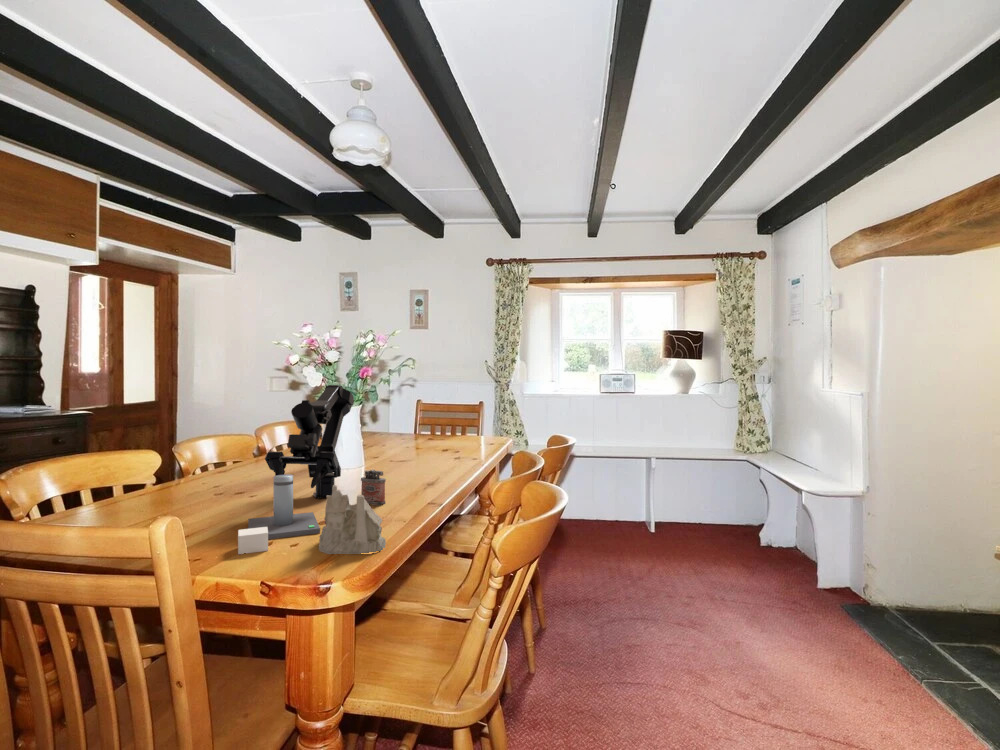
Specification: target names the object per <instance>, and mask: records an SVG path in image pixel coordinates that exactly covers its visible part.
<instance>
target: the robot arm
mask: <svg viewBox="0 0 1000 750" xmlns="http://www.w3.org/2000/svg"><path fill="white" fill-rule="evenodd" d="M354 397H355V396H354V395H353V393H352V392H351V391H350V390H349V389H348V390H347V389H346V388H344V386H343V385H340V384H329V385H325V388H324V390H323V392H322V394H320V395H319V397H318V398H317V399H316V400H315V401H312V402H311V401H310V400H308V399H307V400H306V399H302V400H301V402H300V403H297V404H296V405H294V406H293V407H292V409H291V411H290V412H291V415H292V419H293V420H294V422H295V425H296V427H297V429H298V430H300V431H299V434H294V433H293V434H289V435H288V440H287V445H286V446H287V448H290V450H289V453H290V454H291V456H289V455H288V456H287V455H284V452H283V451H268V452H267V453H265V454H266V455H265V457H264V460H265V462H266V464H267V467H268V468H269V470H271V471H273V473H274V476H276V475H283V474H286V470H285V469H286V467H287V465H307V469H308V477H309V478H312V479H311V483H310V488H311V489H314V488H315V492H313V494H312V495H313V496H314V499H324V498H326V499H327V497H326V496H327V495H330V496H331V495H332V487H333V485H336V483H335V479H336V478H338V477H341V476H342V475H341V474H342V467H341V465H340V462H339V460H338V459H339V458H338V456H337V453H336V447H337V443H338V440H339V436H340V433H341V432H340V431H341V428H342V423H343V420H344V417H345V416H346V415H348V414H349V413H350V412H351V409H352V407H353V405H354V403H355V398H354ZM322 425H325V427H324V431H323V427H322ZM322 431H323V433H322ZM320 438H322V439H321V442H320ZM319 444H320V445H319Z"/></svg>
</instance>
